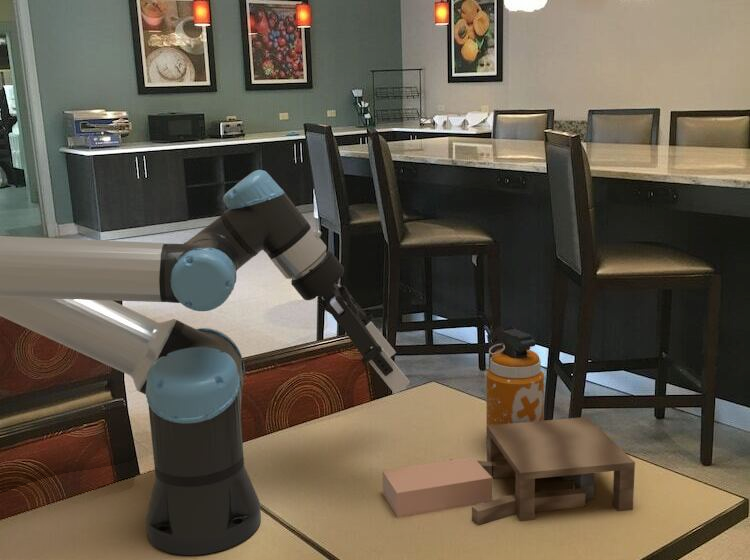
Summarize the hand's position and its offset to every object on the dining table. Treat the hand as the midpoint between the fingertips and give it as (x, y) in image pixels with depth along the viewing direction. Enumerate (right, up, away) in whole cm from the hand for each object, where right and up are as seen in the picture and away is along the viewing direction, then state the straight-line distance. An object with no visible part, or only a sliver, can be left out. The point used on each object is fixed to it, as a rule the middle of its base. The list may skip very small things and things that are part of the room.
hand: (395, 371), depth 121 cm
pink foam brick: (+6, -17, -7) cm, 20 cm away
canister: (+19, -13, +9) cm, 25 cm away
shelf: (+20, -16, -6) cm, 27 cm away
